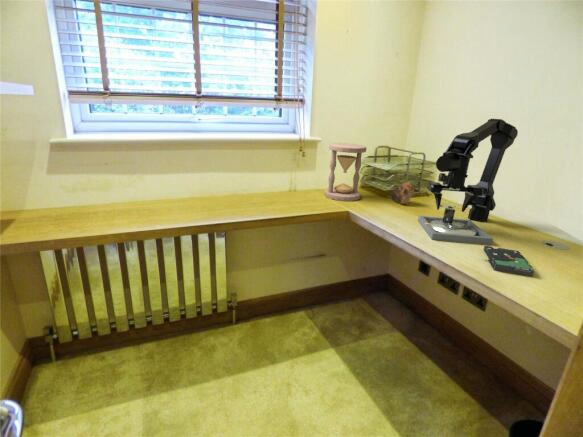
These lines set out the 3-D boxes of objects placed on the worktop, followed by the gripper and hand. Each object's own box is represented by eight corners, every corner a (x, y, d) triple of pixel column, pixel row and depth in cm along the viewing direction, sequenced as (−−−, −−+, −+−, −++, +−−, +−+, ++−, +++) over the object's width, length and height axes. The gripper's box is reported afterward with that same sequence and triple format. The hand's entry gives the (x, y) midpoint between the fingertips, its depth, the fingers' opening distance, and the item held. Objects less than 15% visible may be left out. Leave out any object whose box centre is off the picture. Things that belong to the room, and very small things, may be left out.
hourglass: (355, 192, 181) (361, 144, 173) (364, 202, 164) (371, 148, 156) (322, 191, 180) (326, 142, 171) (327, 200, 163) (332, 146, 155)
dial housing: (468, 227, 138) (470, 219, 137) (490, 246, 119) (493, 238, 118) (417, 222, 140) (418, 215, 139) (431, 241, 121) (433, 232, 120)
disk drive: (481, 253, 115) (493, 272, 102) (483, 245, 114) (495, 263, 101) (516, 258, 113) (533, 278, 99) (518, 250, 112) (536, 269, 98)
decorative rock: (412, 206, 162) (416, 183, 159) (401, 206, 161) (405, 183, 157) (398, 199, 173) (402, 178, 170) (388, 199, 172) (391, 178, 168)
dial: (482, 242, 121) (487, 223, 119) (435, 238, 122) (439, 219, 120) (465, 226, 136) (469, 209, 134) (424, 223, 137) (427, 206, 135)
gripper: (476, 168, 135) (467, 206, 140) (426, 164, 136) (419, 202, 141) (488, 173, 124) (478, 215, 129) (435, 170, 126) (427, 210, 131)
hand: (450, 210), depth 133 cm, fingers open, 9 cm apart
